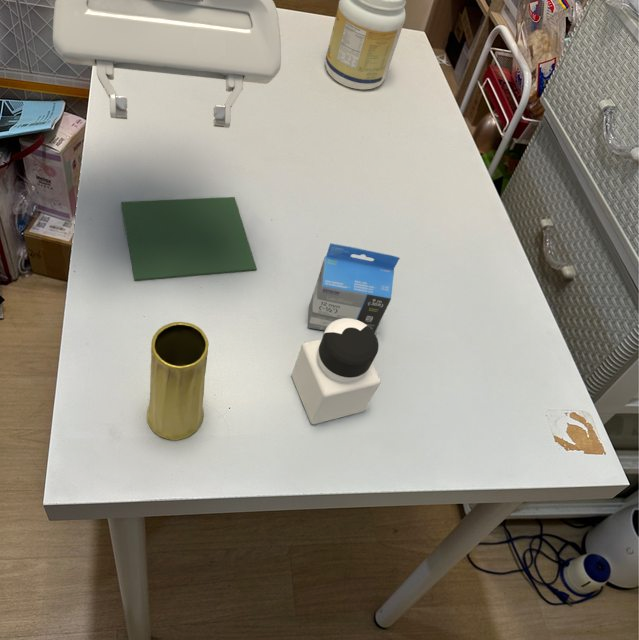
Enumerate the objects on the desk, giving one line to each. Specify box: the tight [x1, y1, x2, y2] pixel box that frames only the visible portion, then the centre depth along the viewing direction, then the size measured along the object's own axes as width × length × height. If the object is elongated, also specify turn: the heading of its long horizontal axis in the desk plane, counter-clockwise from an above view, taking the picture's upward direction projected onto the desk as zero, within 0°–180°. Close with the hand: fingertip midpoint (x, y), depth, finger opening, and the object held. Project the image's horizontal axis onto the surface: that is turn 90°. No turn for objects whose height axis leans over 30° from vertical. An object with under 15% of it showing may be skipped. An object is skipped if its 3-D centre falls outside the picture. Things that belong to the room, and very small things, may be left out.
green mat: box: [120, 196, 258, 282], centre depth 83 cm, size 16×14×1 cm
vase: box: [146, 321, 210, 441], centre depth 61 cm, size 6×6×14 cm
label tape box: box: [307, 242, 401, 334], centre depth 75 cm, size 9×4×12 cm, turn 87°
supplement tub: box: [325, 0, 407, 91], centre depth 111 cm, size 12×12×17 cm
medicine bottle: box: [291, 318, 382, 425], centre depth 68 cm, size 7×7×12 cm
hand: (171, 122), depth 57 cm, fingers open, 8 cm apart
